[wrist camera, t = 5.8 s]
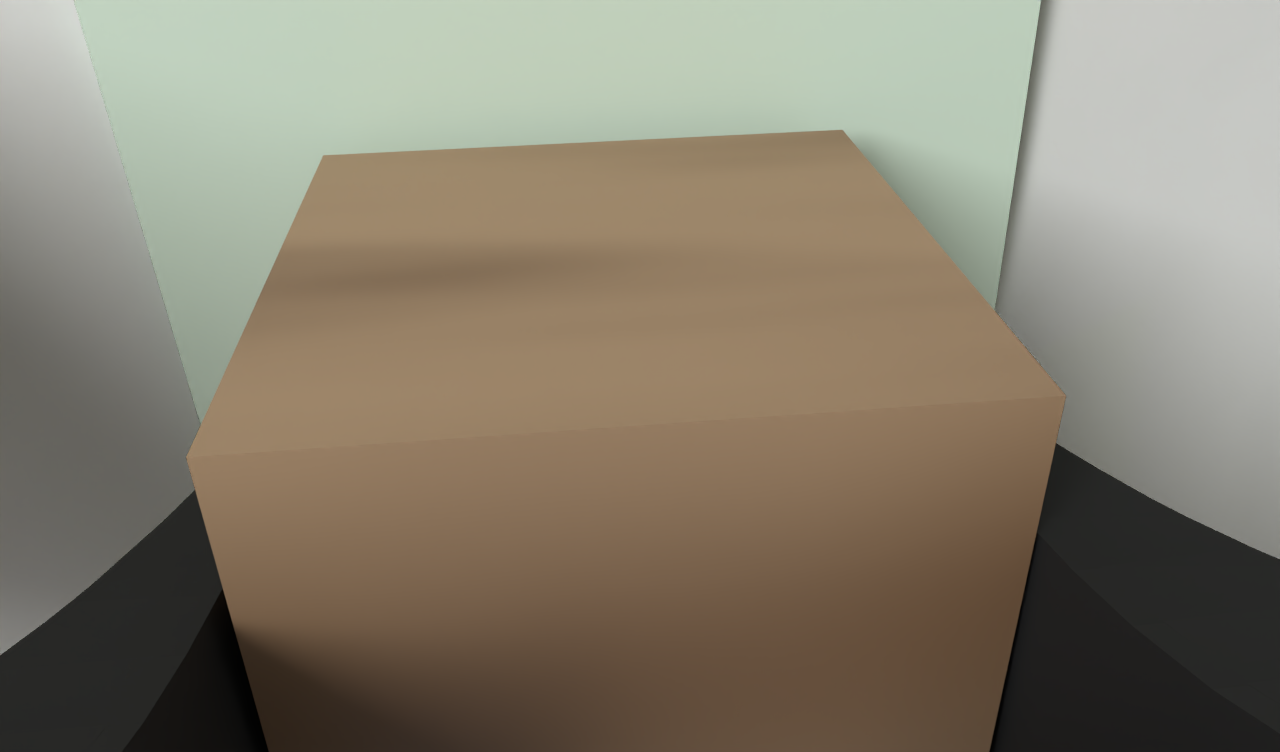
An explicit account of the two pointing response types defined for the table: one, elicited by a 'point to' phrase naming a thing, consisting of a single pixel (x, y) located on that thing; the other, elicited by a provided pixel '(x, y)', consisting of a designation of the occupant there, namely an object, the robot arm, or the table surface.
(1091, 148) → the table surface
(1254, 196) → the table surface
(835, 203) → the walnut block
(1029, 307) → the table surface
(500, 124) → the sage pad
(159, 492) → the table surface
